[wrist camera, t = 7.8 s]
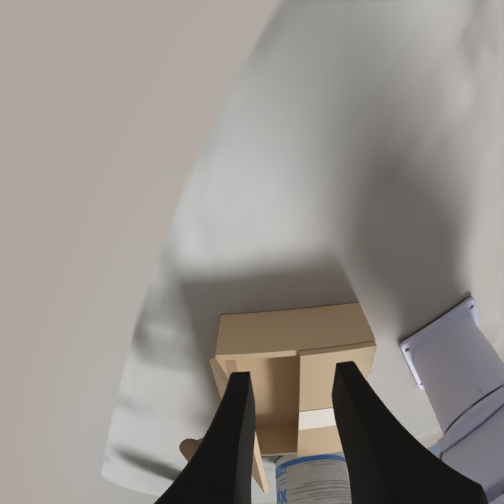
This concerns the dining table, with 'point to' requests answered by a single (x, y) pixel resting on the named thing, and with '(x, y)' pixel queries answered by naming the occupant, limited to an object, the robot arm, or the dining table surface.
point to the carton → (295, 370)
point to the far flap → (191, 445)
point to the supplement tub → (313, 479)
